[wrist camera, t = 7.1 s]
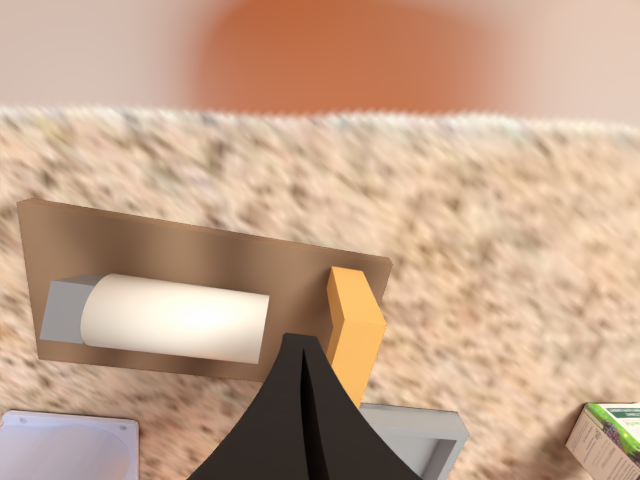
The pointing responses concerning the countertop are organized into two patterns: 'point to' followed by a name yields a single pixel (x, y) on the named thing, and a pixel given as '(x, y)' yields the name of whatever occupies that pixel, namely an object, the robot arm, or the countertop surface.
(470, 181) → the countertop surface
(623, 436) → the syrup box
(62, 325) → the white cylinder grey cap
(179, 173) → the countertop surface
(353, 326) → the yellow bridge block
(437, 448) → the tray
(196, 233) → the board
